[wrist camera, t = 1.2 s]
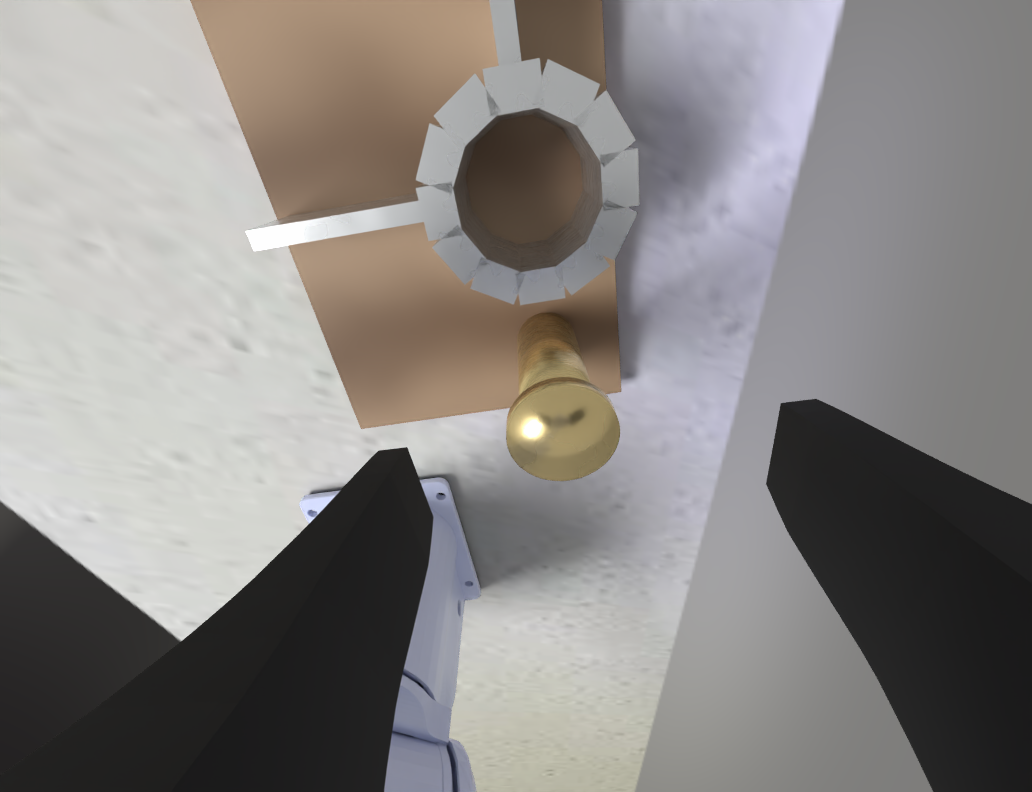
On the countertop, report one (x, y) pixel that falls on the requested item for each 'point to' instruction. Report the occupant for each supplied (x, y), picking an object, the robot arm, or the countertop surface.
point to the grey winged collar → (445, 191)
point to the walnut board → (411, 184)
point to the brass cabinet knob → (558, 406)
